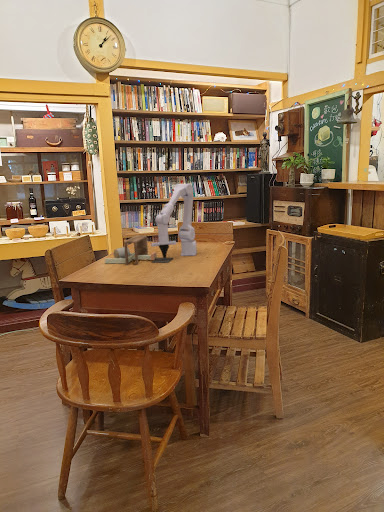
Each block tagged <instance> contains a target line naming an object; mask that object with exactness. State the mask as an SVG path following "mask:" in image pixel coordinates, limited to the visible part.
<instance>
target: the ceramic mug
mask: <svg viewBox="0 0 384 512" xmlns="http://www.w3.org/2000/svg"><path fill="white" fill-rule="evenodd" d="M127 250H128V257H129V256H130V253H131V252H130V249H129V247H128V246H127ZM113 256H114V257H113V258H125V247H124V246H123V247H118V248H115V249H114V250H113Z"/></svg>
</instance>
